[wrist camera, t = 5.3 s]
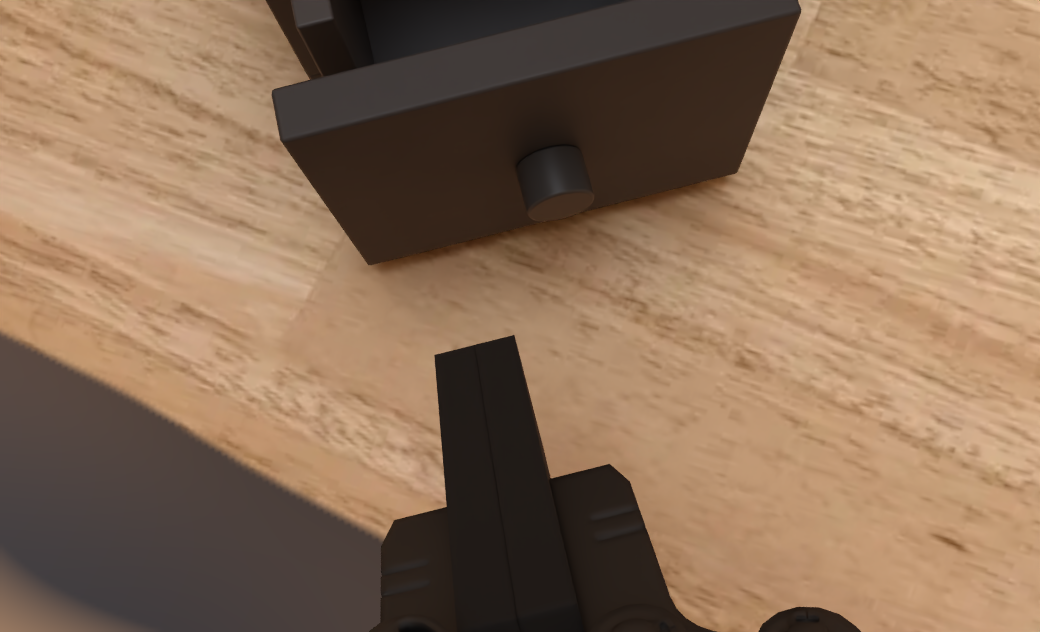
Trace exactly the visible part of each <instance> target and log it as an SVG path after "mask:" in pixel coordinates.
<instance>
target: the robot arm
mask: <svg viewBox="0 0 1040 632" xmlns="http://www.w3.org/2000/svg"><path fill="white" fill-rule="evenodd" d="M435 367H436V380H437V392H438V404H439V416H440V429H441V441H442V453H443V465H444V478H445V490H446V502H447V507H445V508H441V509H437V510H433V511H429V512H425V513H421V514H417V515H413V516H409V517H405V518H402V519H398V520H394V522H393V524H392V526H391V528H390V530H389V532H388V534H387V536H386V538H385V540H384V542H383V544H382V546H381V573H382V577H381V595H382V598H381V623H379V624H378V625H377V626H376V627H374V628H373V629H372V630H370V631H369V632H716V631H711V630H708V629H706V628H703V627H700V626H698V625H696V624H694V623H693V622H691V621H689V620H688V619H686V618H685V617H684V616H683V615H682V614H681V613H680V612H679V611H678V610H677V609H676V607H675V605H674V603H673V601H672V599H671V597H670V595H669V592H668V589H667V586H666V583H665V580H664V578H663V575H662V572H661V569H660V566H659V563H658V561H657V558H656V555H655V552H654V549H653V546H652V544H651V541H650V538H649V535H648V532H647V529H646V528H645V524H644V521H643V518H642V515H641V512H640V510H639V507H638V504H637V501H636V498H635V495H634V493H633V490H632V487H631V484H630V481H628V480H627V479H626V478H625V477H624V476H623V475H622V474H620V473H619V472H618V471H617V470H616V469H615V468H614V467H612V466H611V465H610V464H608V465H604V466H600V467H596V468H592V469H588V470H584V471H580V472H576V473H572V474H568V475H564V476H560V477H556V478H552V479H551V478H550V474H549V470H548V465H547V461H546V457H545V453H544V449H543V445H542V441H541V437H540V433H539V429H538V426H537V422H536V418H535V414H534V410H533V406H532V402H531V398H530V394H529V391H528V387H527V383H526V379H525V375H524V371H523V367H522V363H521V360H520V356H519V352H518V348H517V344H516V340H515V336H514V335H513V336H509V337H505V338H501V339H497V340H493V341H489V342H485V343H481V344H477V345H473V346H469V347H465V348H461V349H457V350H453V351H449V352H445V353H441V354H437V355H435ZM759 632H861V631H860V630H859V629H858V628H857V627H856V626H855V625H853V624H852V623H851V622H849V621H848V620H847V619H845V618H844V617H842V616H841V615H840V614H837V613H834V612H831V611H828V610H825V609H822V608H817V607H796V608H792V609H789V610H785V611H782V612H778V613H777V614H775V615H774V616H773V617H771V618H770V619H769V620H767V621H766V622H765V623H763V624H762V626H761V628H760V630H759Z"/></svg>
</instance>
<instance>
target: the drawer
mask: <svg viewBox="0 0 1040 632" xmlns="http://www.w3.org/2000/svg"><path fill="white" fill-rule="evenodd" d="M291 5H292V10H293V15H294V20H295V25H296V28H297V30H298V32H299V34H300V36H301V38H302V39H303V41H304V43H305V45H306V47H307V49H308V51H309V53H310V55H311V57H312V58H313V60H314V62H315V64H316V66H317V68H318V70H319V72H320V74H321V75H322V77H320V78H316V79H312V80H308V81H304V82H300V83H296V84H292V85H288V86H284V87H280V88H276V89H274V90H272V99H273V104H274V109H275V114H276V120H277V125H278V130H279V135H280V140H281V142H282V143H283V145H284V146H285V147H286V149H287V150H288V152H289V153H290V155H291V156H292V157H293V159H294V160H295V162H296V163H297V164H298V166H299V167H300V169H301V170H302V172H303V173H304V174H305V176H306V177H307V179H308V180H309V181H310V183H311V184H312V186H313V187H314V189H315V190H316V191H317V193H318V194H319V196H320V197H321V198H322V200H323V201H324V203H325V204H326V206H327V207H328V208H329V210H330V211H331V213H332V214H333V215H334V217H335V218H336V220H337V221H338V223H339V224H340V225H341V227H342V228H343V230H344V231H345V232H346V234H347V235H348V237H349V238H350V240H351V241H352V242H353V244H354V245H355V247H356V248H357V249H358V251H359V252H360V254H361V255H362V257H363V258H364V259H365V261H366V262H367V264H368V265H373V264H377V263H381V262H385V261H389V260H393V259H397V258H401V257H405V256H409V255H413V254H417V253H421V252H425V251H429V250H433V249H437V248H441V247H445V246H449V245H453V244H457V243H461V242H465V241H469V240H473V239H477V238H481V237H485V236H489V235H493V234H496V233H500V232H504V231H508V230H512V229H516V228H520V227H524V226H528V225H532V224H536V223H540V222H544V221H553V220H559V219H563V218H567V217H570V216H572V215H575V214H577V213H580V212H584V211H588V210H592V209H596V208H600V207H604V206H608V205H612V204H616V203H620V202H624V201H628V200H632V199H636V198H640V197H644V196H648V195H651V194H655V193H659V192H663V191H667V190H671V189H675V188H679V187H683V186H687V185H691V184H695V183H699V182H703V181H707V180H711V179H715V178H719V177H723V176H727V175H731V174H735V173H737V172H738V169H739V167H740V164H741V162H742V159H743V157H744V154H745V152H746V149H747V147H748V144H749V142H750V139H751V137H752V134H753V132H754V129H755V126H756V124H757V121H758V119H759V116H760V114H761V111H762V109H763V106H764V104H765V101H766V99H767V96H768V94H769V91H770V89H771V86H772V84H773V81H774V79H775V76H776V74H777V71H778V69H779V66H780V64H781V61H782V59H783V56H784V54H785V51H786V49H787V46H788V44H789V41H790V39H791V36H792V34H793V31H794V29H795V26H796V24H797V21H798V19H799V16H800V14H801V8H800V5H799V2H798V0H291Z"/></svg>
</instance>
